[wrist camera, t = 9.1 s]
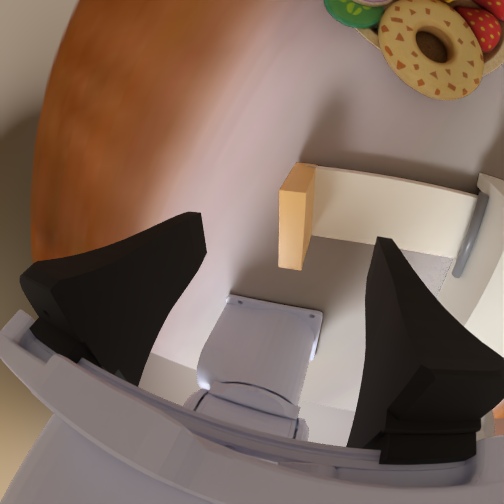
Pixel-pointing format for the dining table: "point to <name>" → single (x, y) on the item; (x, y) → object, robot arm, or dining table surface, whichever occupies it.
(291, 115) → the dining table surface
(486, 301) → the cream rectangular block
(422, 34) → the toy food set
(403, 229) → the cream block orange end
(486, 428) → the donut
